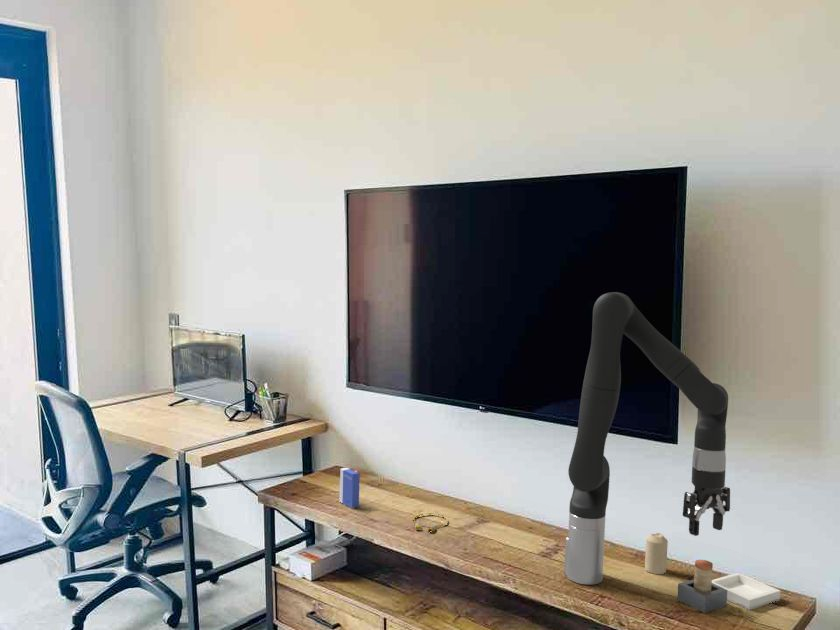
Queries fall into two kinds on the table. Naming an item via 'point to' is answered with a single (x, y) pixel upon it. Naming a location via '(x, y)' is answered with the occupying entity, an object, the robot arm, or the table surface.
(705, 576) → the pin
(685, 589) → the socket block
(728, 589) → the tray
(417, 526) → the beaded necklace
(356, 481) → the walkman
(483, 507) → the table surface
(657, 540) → the candle
